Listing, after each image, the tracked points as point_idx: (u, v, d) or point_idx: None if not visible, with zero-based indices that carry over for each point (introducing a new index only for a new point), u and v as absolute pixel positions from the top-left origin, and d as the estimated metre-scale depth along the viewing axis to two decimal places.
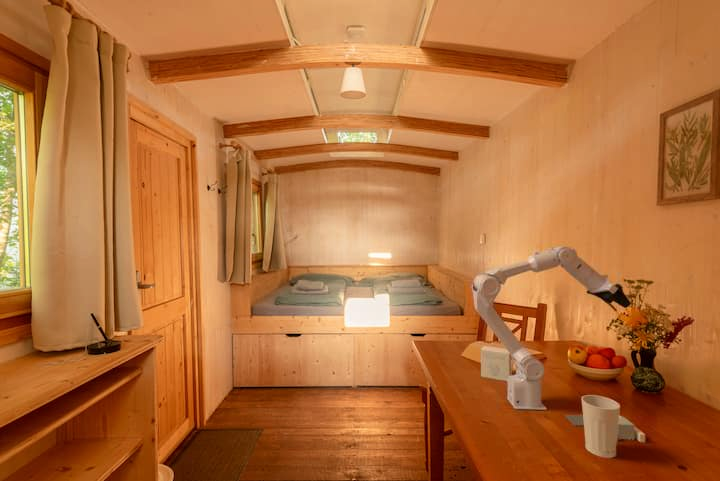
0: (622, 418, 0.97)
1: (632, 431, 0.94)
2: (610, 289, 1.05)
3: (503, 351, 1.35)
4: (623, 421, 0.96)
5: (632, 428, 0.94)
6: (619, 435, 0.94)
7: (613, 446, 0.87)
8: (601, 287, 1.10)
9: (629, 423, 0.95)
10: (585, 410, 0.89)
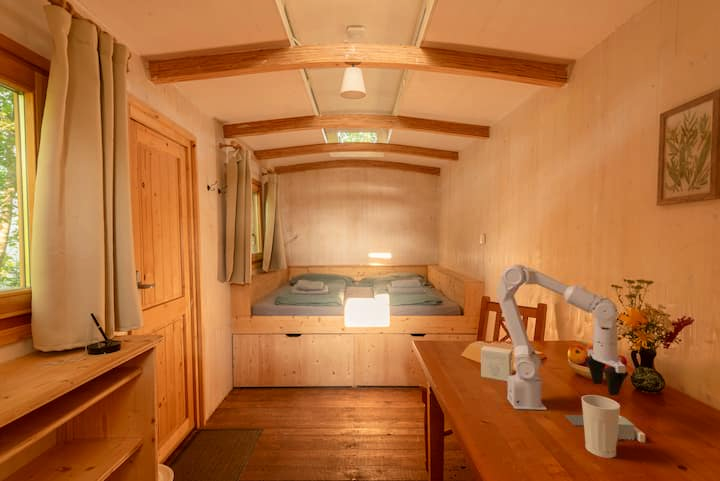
0: (622, 418, 0.97)
1: (632, 431, 0.94)
2: (619, 367, 0.96)
3: (503, 351, 1.35)
4: (623, 421, 0.96)
5: (632, 428, 0.94)
6: (619, 435, 0.94)
7: (613, 446, 0.87)
8: (609, 361, 1.00)
9: (629, 423, 0.95)
10: (585, 410, 0.89)
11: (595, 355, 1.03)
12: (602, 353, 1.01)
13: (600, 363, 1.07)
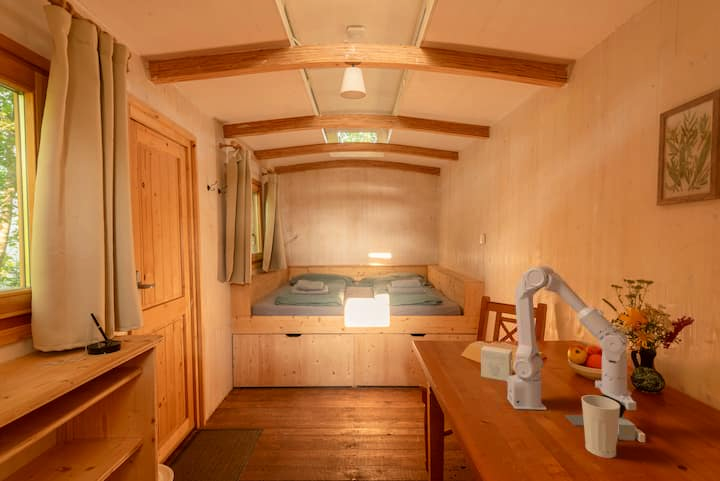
0: (623, 418, 0.97)
1: (633, 431, 0.94)
2: (629, 404, 0.92)
3: (503, 351, 1.35)
4: (623, 421, 0.95)
5: (633, 428, 0.94)
6: (620, 435, 0.94)
7: (613, 446, 0.87)
8: (618, 396, 0.96)
9: (630, 423, 0.94)
10: (585, 410, 0.89)
11: (604, 389, 0.99)
12: (611, 387, 0.97)
13: None
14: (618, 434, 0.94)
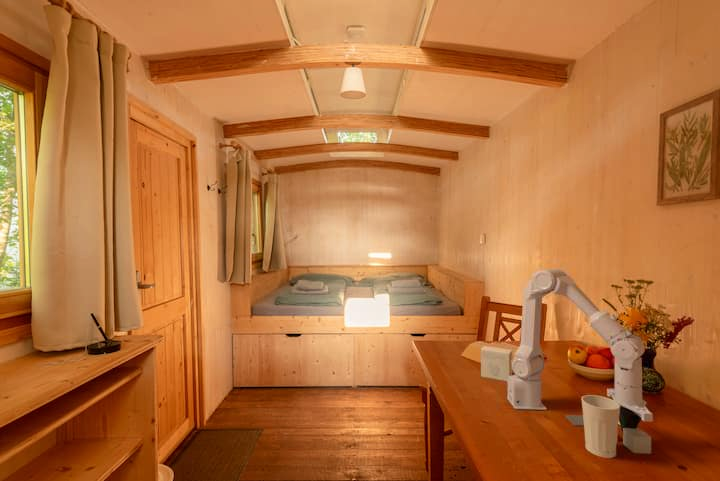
0: (638, 429, 0.91)
1: (649, 444, 0.88)
2: (645, 415, 0.86)
3: (503, 351, 1.35)
4: (639, 433, 0.90)
5: (649, 441, 0.88)
6: (635, 448, 0.88)
7: (613, 446, 0.87)
8: (633, 406, 0.90)
9: (645, 435, 0.89)
10: (585, 410, 0.89)
11: (617, 398, 0.93)
12: (625, 397, 0.91)
13: None
14: (633, 447, 0.88)
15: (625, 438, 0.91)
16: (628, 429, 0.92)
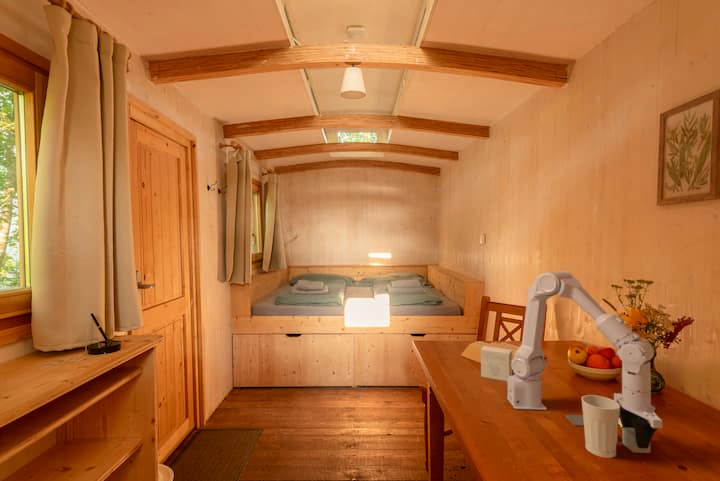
0: None
1: None
2: (655, 421, 0.83)
3: (503, 351, 1.35)
4: None
5: None
6: (634, 447, 0.88)
7: (613, 446, 0.87)
8: (641, 412, 0.87)
9: None
10: (585, 410, 0.89)
11: (625, 404, 0.90)
12: (633, 402, 0.88)
13: (633, 413, 0.92)
14: (632, 446, 0.89)
15: (624, 437, 0.92)
16: (627, 428, 0.92)
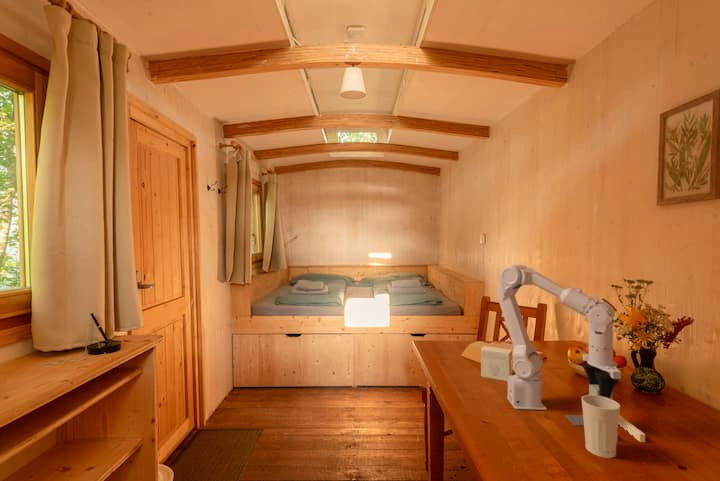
0: None
1: (610, 397, 0.99)
2: (614, 373, 0.94)
3: (503, 351, 1.35)
4: None
5: None
6: None
7: (613, 446, 0.87)
8: (604, 366, 0.98)
9: None
10: (585, 410, 0.89)
11: (590, 360, 1.01)
12: (597, 358, 0.99)
13: (598, 370, 1.03)
14: None
15: (590, 393, 1.02)
16: (593, 385, 1.02)
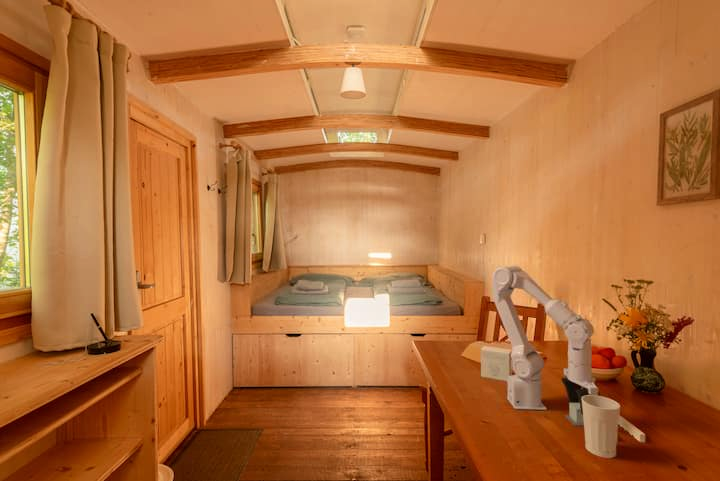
0: None
1: None
2: (591, 389, 0.96)
3: (503, 351, 1.35)
4: None
5: None
6: (577, 419, 1.02)
7: (613, 446, 0.87)
8: (582, 382, 1.01)
9: None
10: (585, 410, 0.89)
11: (570, 376, 1.03)
12: (576, 374, 1.02)
13: (576, 383, 1.07)
14: (576, 418, 1.02)
15: (570, 411, 1.05)
16: (573, 403, 1.05)
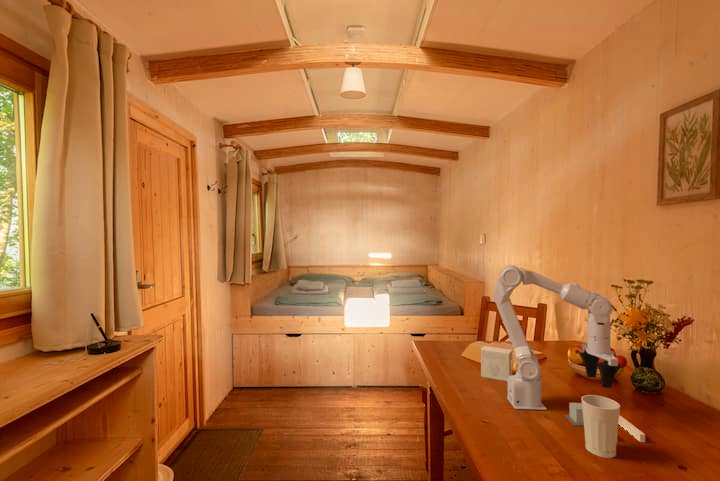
0: (581, 404, 1.05)
1: None
2: (611, 360, 1.00)
3: (503, 351, 1.35)
4: (581, 406, 1.03)
5: None
6: (577, 419, 1.02)
7: (613, 446, 0.87)
8: (602, 355, 1.04)
9: None
10: (585, 410, 0.89)
11: (589, 349, 1.07)
12: (596, 347, 1.05)
13: (594, 357, 1.11)
14: (576, 418, 1.02)
15: (570, 411, 1.05)
16: (573, 403, 1.05)
